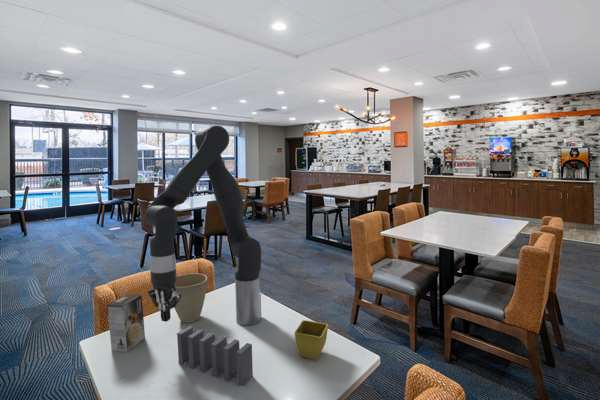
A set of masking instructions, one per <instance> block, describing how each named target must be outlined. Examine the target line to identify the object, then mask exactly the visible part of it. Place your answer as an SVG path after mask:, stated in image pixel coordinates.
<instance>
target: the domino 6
mask: <svg viewBox="0 0 600 400" xmlns="http://www.w3.org/2000/svg"><path fill="white" fill-rule="evenodd" d="M236 355H237V376H236V378H237V386H238V387H240V386H243V387H244V386H245V385H246V384H247V383H248V382H250V380H251V379H252V378H253V377H254V375H253V373H254V372H253V344H252V343H248V342H246V343H245V344H244V345H243V346H241V348H240V347H239V350H238V351H237V352H236Z"/></svg>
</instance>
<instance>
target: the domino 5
mask: <svg viewBox="0 0 600 400" xmlns="http://www.w3.org/2000/svg"><path fill="white" fill-rule="evenodd" d="M239 349H240V340H239V339H236V338H235V339H233V340H232V341H231V342H229V343H227V346H225V347H224V381H225V382H227V383H230V382H231V381H233V380H234V378H237V355H236V352H237V351H238V350H239Z"/></svg>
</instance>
